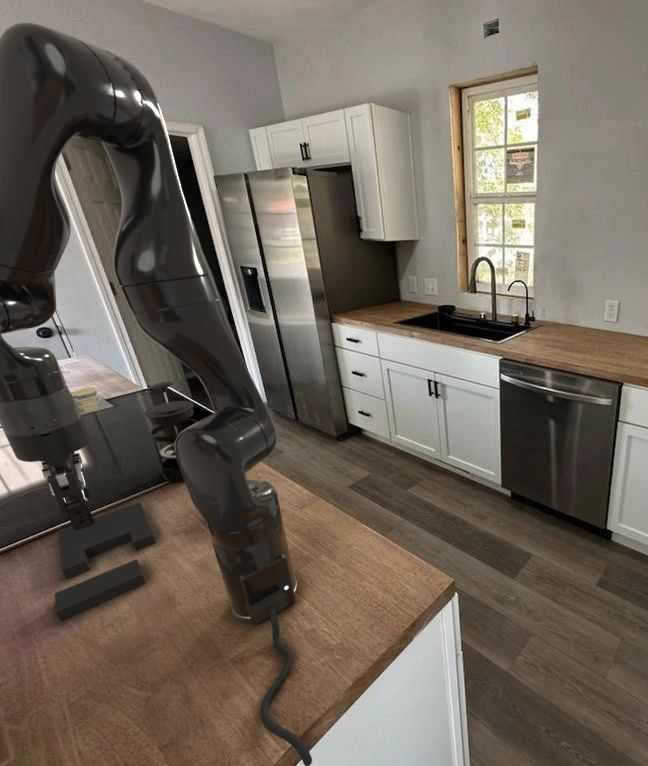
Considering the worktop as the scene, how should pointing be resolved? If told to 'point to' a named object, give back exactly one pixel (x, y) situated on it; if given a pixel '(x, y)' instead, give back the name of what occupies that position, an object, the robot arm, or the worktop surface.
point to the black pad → (98, 590)
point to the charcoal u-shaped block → (103, 537)
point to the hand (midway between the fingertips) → (83, 513)
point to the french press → (169, 429)
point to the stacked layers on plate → (89, 401)
